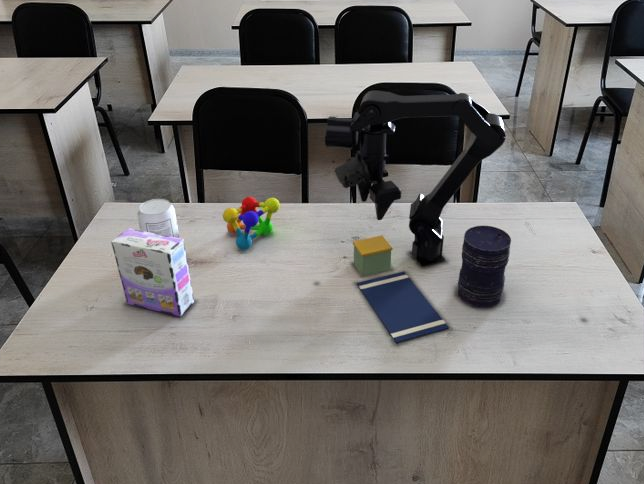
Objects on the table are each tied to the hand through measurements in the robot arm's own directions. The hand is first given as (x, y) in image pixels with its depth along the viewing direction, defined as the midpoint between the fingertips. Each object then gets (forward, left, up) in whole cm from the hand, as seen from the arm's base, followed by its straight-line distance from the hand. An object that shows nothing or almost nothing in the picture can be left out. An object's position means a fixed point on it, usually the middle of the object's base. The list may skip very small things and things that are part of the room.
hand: (371, 210), depth 141 cm
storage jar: (-16, +24, -12) cm, 31 cm away
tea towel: (+2, +21, -12) cm, 24 cm away
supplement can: (+47, -15, -12) cm, 51 cm away
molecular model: (+26, -16, -12) cm, 33 cm away
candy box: (+50, +1, -12) cm, 51 cm away
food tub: (+2, +5, -12) cm, 13 cm away
